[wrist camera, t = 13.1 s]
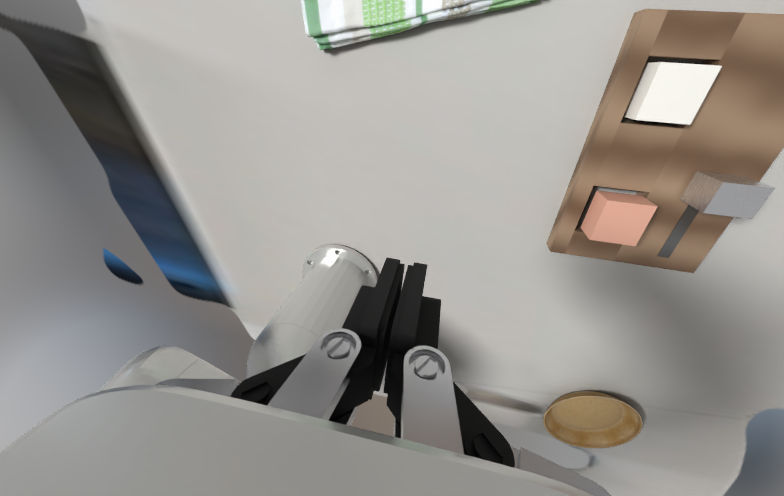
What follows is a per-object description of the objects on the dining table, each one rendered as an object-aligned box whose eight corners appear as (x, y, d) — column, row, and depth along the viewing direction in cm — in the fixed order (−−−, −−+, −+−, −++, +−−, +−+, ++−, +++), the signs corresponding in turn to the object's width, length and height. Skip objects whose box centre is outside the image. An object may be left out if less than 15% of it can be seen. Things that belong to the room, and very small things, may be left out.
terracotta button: (622, 233, 35) (635, 246, 32) (580, 227, 35) (589, 239, 33) (642, 196, 32) (657, 206, 30) (596, 190, 33) (607, 200, 30)
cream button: (671, 120, 30) (690, 124, 27) (620, 116, 30) (635, 119, 28) (698, 66, 27) (722, 65, 25) (643, 62, 28) (661, 62, 26)
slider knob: (723, 204, 31) (751, 219, 28) (679, 199, 31) (703, 212, 28) (742, 175, 29) (775, 187, 26) (696, 170, 30) (723, 182, 27)
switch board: (683, 263, 37) (693, 273, 35) (546, 243, 39) (550, 251, 37) (847, 21, 25) (877, 17, 23) (634, 12, 27) (646, 8, 25)
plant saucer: (553, 437, 59) (557, 451, 57) (529, 389, 54) (532, 403, 52) (642, 429, 53) (650, 445, 51) (624, 375, 48) (632, 390, 46)
